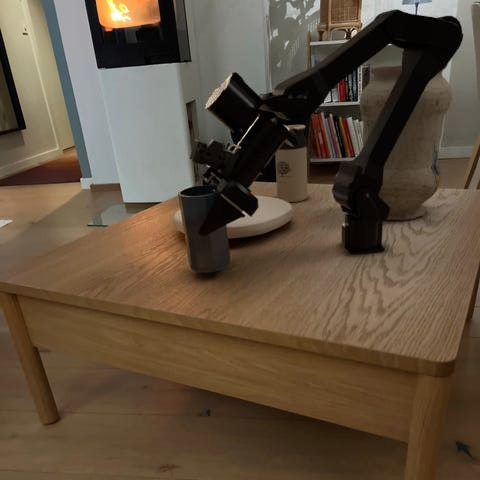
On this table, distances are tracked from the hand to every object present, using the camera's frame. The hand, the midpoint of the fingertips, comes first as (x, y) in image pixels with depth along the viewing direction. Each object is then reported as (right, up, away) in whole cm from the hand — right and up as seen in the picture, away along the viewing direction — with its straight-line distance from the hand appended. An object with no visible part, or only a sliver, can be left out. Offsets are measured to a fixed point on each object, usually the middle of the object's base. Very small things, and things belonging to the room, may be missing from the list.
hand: (196, 228), depth 80 cm
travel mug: (+21, +17, +47) cm, 54 cm away
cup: (+2, -6, +4) cm, 7 cm away
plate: (+6, +5, +27) cm, 29 cm away
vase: (+43, +9, +28) cm, 52 cm away
